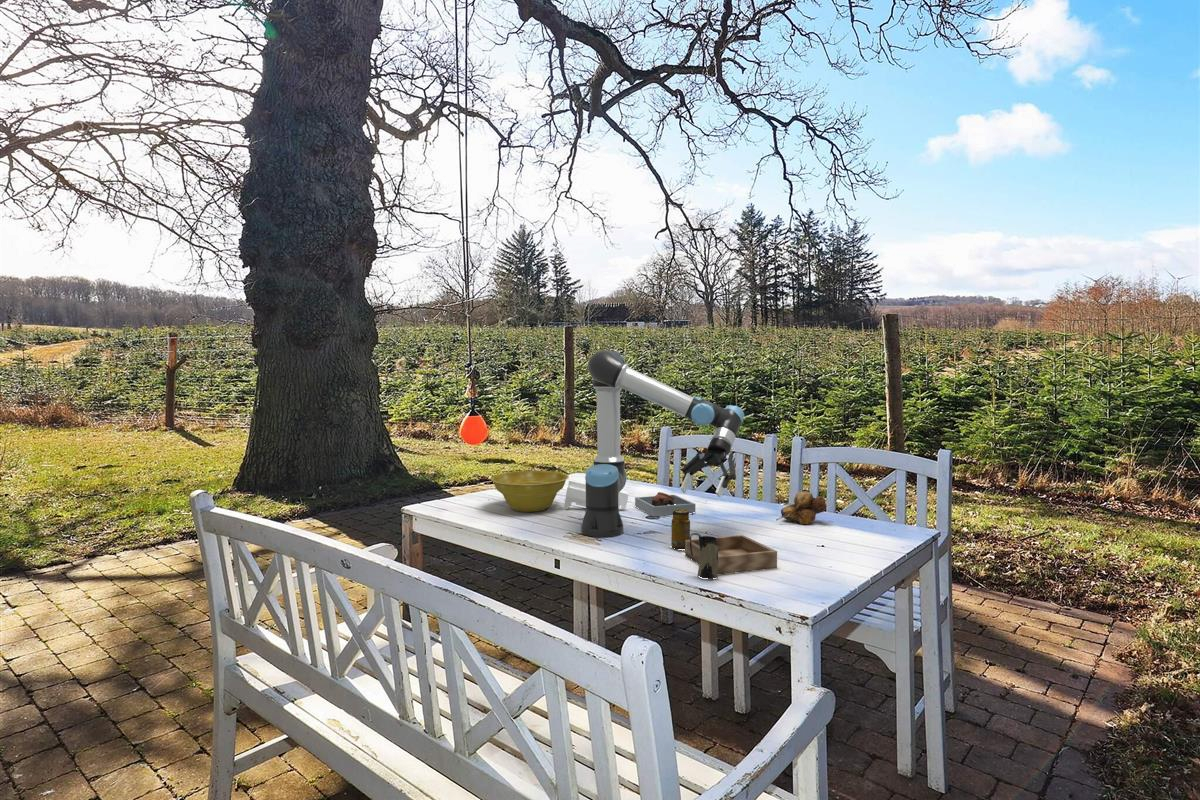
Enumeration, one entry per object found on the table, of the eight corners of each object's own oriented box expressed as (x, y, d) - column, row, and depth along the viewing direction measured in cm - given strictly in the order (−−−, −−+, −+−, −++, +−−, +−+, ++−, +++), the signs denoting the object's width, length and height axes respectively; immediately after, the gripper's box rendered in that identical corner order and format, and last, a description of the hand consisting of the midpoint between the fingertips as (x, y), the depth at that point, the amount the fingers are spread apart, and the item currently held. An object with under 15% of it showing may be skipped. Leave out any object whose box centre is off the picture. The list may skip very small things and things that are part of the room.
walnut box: (715, 575, 191) (715, 557, 191) (685, 556, 210) (685, 540, 210) (777, 568, 197) (777, 551, 197) (742, 550, 216) (742, 534, 216)
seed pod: (826, 511, 241) (829, 491, 254) (780, 499, 246) (786, 480, 259) (817, 541, 247) (821, 520, 259) (773, 529, 251) (779, 509, 264)
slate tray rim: (653, 517, 263) (653, 507, 263) (635, 506, 282) (635, 497, 282) (695, 513, 268) (695, 503, 268) (674, 503, 287) (674, 494, 287)
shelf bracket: (564, 508, 281) (570, 479, 280) (623, 521, 279) (629, 492, 278) (562, 511, 276) (568, 481, 275) (622, 524, 273) (628, 494, 272)
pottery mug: (645, 509, 279) (652, 491, 281) (665, 519, 280) (672, 500, 282) (654, 508, 268) (661, 489, 270) (675, 518, 269) (682, 499, 271)
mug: (720, 575, 191) (720, 533, 190) (715, 581, 186) (715, 538, 185) (693, 572, 194) (693, 530, 194) (687, 577, 189) (687, 535, 188)
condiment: (684, 543, 225) (684, 507, 224) (698, 549, 217) (698, 513, 217) (665, 546, 222) (665, 510, 221) (679, 552, 214) (679, 515, 214)
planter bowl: (536, 521, 258) (536, 486, 257) (474, 511, 276) (474, 478, 275) (584, 505, 285) (583, 474, 284) (524, 497, 302) (524, 468, 302)
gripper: (757, 452, 232) (737, 503, 221) (694, 448, 248) (673, 495, 237) (750, 438, 228) (729, 489, 217) (686, 435, 243) (664, 482, 233)
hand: (699, 492), depth 227 cm, fingers open, 13 cm apart
